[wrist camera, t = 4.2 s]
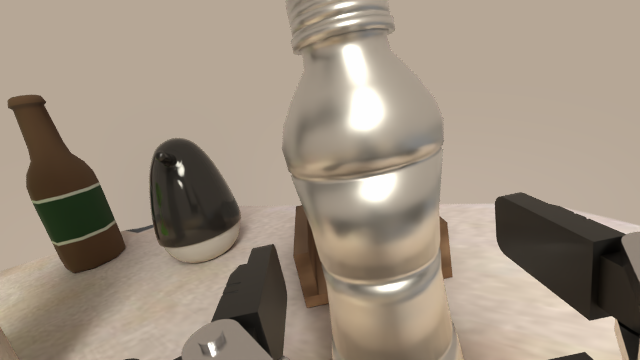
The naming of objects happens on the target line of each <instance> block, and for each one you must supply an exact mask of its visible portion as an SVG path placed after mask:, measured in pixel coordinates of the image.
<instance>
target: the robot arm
mask: <svg viewBox="0 0 640 360" xmlns="http://www.w3.org/2000/svg"><path fill="white" fill-rule="evenodd" d="M495 216H496V237H497V242H498V245H499V247H500V249H501V251H502V252H503V253H504V254H505V255H506V256H507V257H508V258H510V259H511V260H512V261H514V262H515V263H516V264H517V265H519V266H520V267H521V268H523V269H524V270H525V271H526V272H528V273H529V274H530V275H532V276H533V277H534V278H535V279H537V280H538V281H539V282H541V283H542V284H543V285H544V286H546V287H547V288H548V289H550V290H551V291H552V292H553V293H555V294H556V295H557V296H559V297H560V298H561V299H562V300H564V301H565V302H566V303H568V304H569V305H570V306H571V307H573V308H574V309H575V310H577V311H578V312H579V313H580V314H582V315H583V316H584V317H586V318H587V319H588V320H589V321H590V320H595V319H599V318H604V317H609V316H613V317H614V318H615V328H614V329H615V334H616V338H617V341H618V345H619V348H620V352H621V355H622V359H623V360H640V232H634V233H629V234H624V233H621V232H619V231H617V230H614V229H612V228H610V227H607V226H605V225H603V224H600V223H598V222H595V221H593V220H591V219H586V217H584V216H581V215H579V214H574V212H572V211H569V210H567V209H565V208H562V207H560V206H556V205H552V204H548V203H545V202H543V201H541V200H539V199H536V198H534V197H532V196H529V195H527V194H525V193H515V194H510V195H505V196H501V197H498V198H497V199H496V201H495ZM286 307H287V291H286V285H285V281H284V277H283V273H282V270H281V266H280V262H279V259H278V255H277V251H276V248H275V246H274V244H271V245H266V246H262V247H257V248H253V249H252V251H251V254H250V257H249V260H248V263H247V264H243V265H239V266H238V268H237V269H236V270H235V271H234V272H233V273H232V274H231V275H230V277H229V279H228V282H227V284H226V287H225V289H224V292H223V296H222V297H221V299H220V301H219V304H218V306H217V309H216V311H215V314H214V316H213V319H212V321H211V323H209V324H207V325H205V326H203V327H202V328H200V329H199V330H197V331H196V332H195V333H194V334H193V335H192V336H191V337H190V338H189V339H188V340H187V342H186V343H185V345H184V347H183V349H182V356H180V357H178V358H176V359H174V360H289V359H288V358H287V357H285V356H283V345H284V332H285V319H286ZM0 360H19V359H18V357H17V355H16V354H15V352H14V350H13V348H12V347H11V344H10V343H9V341H8V339H7V338H6V336H5V334H4V333H3V331H2V329H1V327H0ZM125 360H139V359H134V358H133V359H125ZM550 360H593V359H592V358H591V357H590V356H589V355H588V354H587V353H585V352H583V353H578V354H573V355H569V356H564V357H559V358H554V359H550Z"/></svg>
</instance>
